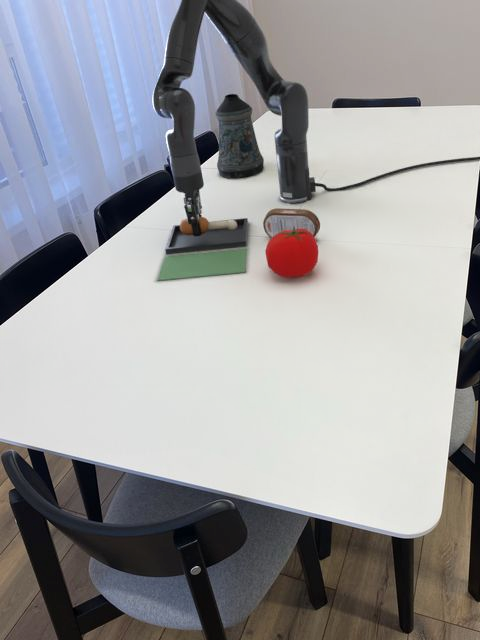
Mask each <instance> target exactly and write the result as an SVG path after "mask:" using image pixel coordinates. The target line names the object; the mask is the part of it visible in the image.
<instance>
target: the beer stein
mask: <svg viewBox="0 0 480 640" xmlns="http://www.w3.org/2000/svg"><path fill="white" fill-rule="evenodd" d="M252 114H253V107H252V106H251V105H250V104H248V103H247V102H246V101H244V100H243V99H242V98H240V96H239V95H238V94H236V93H229V94H226V95H224V99H223V101H222V102H221V103H220V105H219V106H218V108H217V109H216V111H215V117H216V119H217V121H218V156H217V157H218V158H217V163H216V167H217V170H218V173H219V176H220V177H221V178H223V179H226V180H227V179H228V180H240V179H241V180H242V179H247V178H251V177H256V176H257V175H259V174H261V173H262V172H263V170H264V164H265V163H264V162H265V158H264V156H263V154H262V153H261V150H260V147H259V144H258V141H257V136H256V132H255V128H254V125H253V121H252Z"/></svg>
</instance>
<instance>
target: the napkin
mask: <svg viewBox="0 0 480 640" xmlns="http://www.w3.org/2000/svg"><path fill="white" fill-rule="evenodd" d="M247 254H248V248H247V247H245V248H237V249H236V248H235V249H225V250H215V251H208V252H207V251H205V252H198V253H197V252H195V253H188V254H187V253H184V254H177V255H176V254H174V255H167V256H164V259H163V261H162V265H161V267H160V270H159V273H158V277H157V282H161V281H163V282H164V281H173V280H182V279H194V278H204V277H215V276H224V275H226V276H227V275H235V274H244V273H245V274H246V272H247V271H246V270H247Z"/></svg>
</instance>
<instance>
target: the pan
mask: <svg viewBox="0 0 480 640" xmlns="http://www.w3.org/2000/svg"><path fill="white" fill-rule="evenodd" d="M227 220H228V219H224V220H223V219H222V221H227ZM232 220H234V221H236V223H237V228H236V229H235V230H229V229H228V228H223V229H214V230H208V231H207V232H206V233H204V234H201V236H194V235H185V234H183V233H182V232H181V230H180V224H175V225H172V228H171V230H170V234H169V237H168V240H167V242H166V246H165V249H164V251H165V255H167V256H168V255H176V254H177V255H178V254H187V253H197V252H207V251H218V250H229V249H236V248H237V249H239V248H247V246H248V245H247V244H248V231H249V218H248V217H245V218H234V219H232ZM218 221H219V220H215V221H213V220H212V222H218Z"/></svg>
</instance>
